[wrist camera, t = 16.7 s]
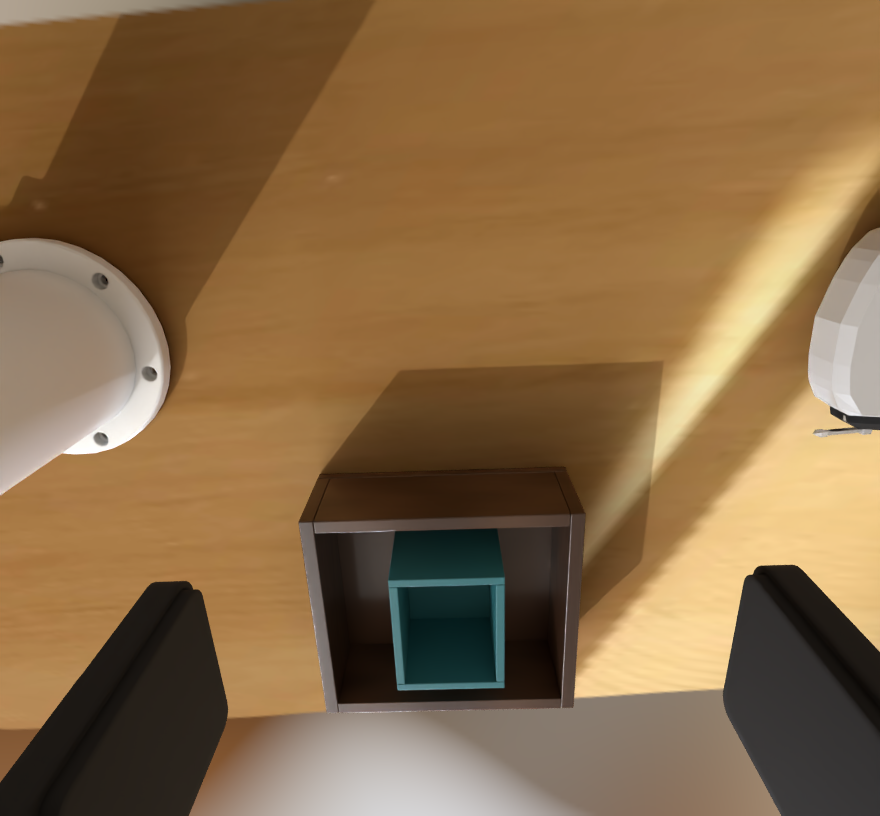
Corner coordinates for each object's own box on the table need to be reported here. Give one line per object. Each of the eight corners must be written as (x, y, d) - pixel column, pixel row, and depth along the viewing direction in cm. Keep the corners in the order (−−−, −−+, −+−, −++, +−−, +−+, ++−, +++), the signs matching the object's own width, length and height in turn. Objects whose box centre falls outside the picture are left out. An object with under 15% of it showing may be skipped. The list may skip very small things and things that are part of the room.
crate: (341, 647, 41) (326, 713, 36) (319, 473, 36) (298, 522, 31) (557, 641, 41) (573, 708, 35) (565, 466, 36) (586, 513, 30)
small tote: (496, 617, 39) (504, 688, 34) (404, 619, 39) (397, 690, 34) (495, 517, 36) (505, 577, 31) (396, 520, 36) (387, 580, 31)
